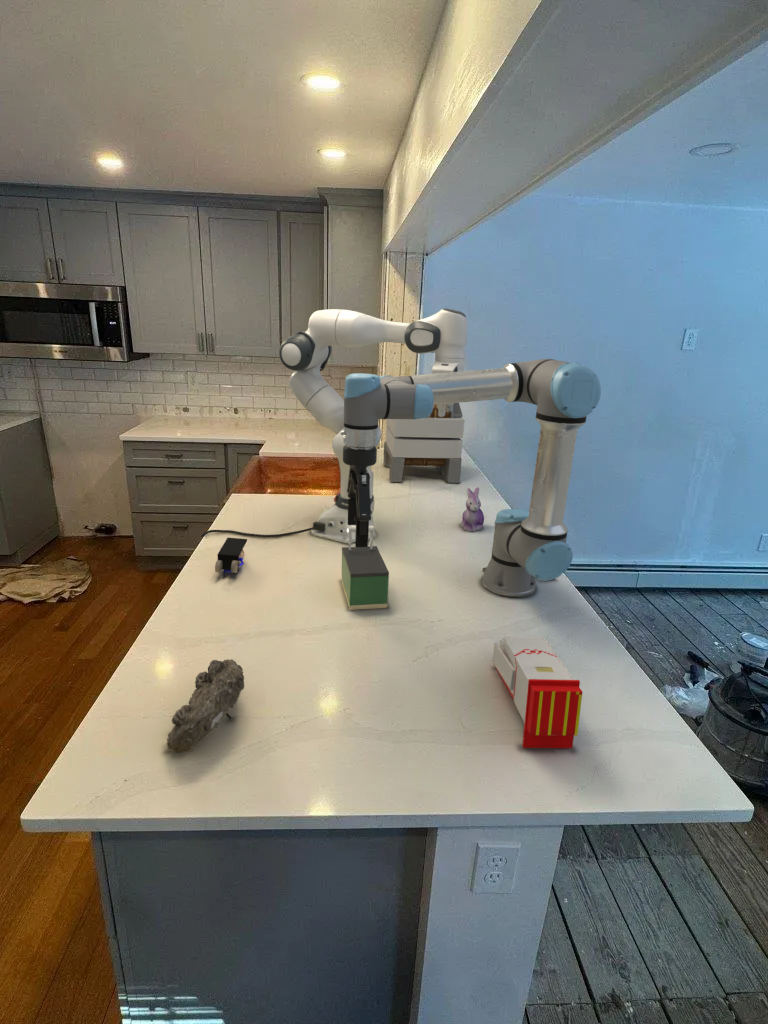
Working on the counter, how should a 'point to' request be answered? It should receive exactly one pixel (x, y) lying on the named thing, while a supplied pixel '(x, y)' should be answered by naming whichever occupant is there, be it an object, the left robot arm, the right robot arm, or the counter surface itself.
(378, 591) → the chest
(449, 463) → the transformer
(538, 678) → the toy
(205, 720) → the fossil
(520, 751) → the counter surface
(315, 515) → the counter surface
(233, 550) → the black toy car
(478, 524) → the figurine
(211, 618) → the counter surface
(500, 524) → the right robot arm
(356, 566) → the lid
